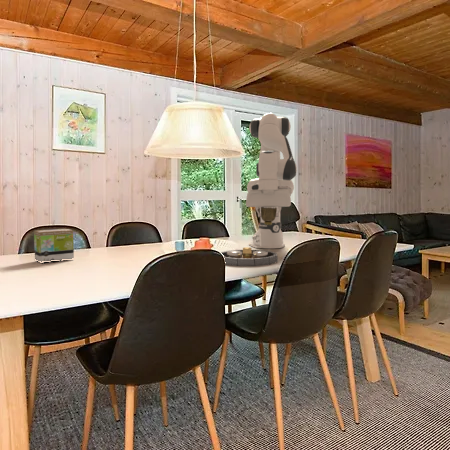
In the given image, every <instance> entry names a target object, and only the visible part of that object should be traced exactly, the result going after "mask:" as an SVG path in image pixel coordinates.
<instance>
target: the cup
mask: <svg viewBox="0 0 450 450" xmlns="http://www.w3.org/2000/svg"><path fill="white" fill-rule="evenodd" d="M276 212H277V208H274V207H273V208H271V207H270V208H269V207H268V208H267V207H266V208H264V207H261V217H260V219H261V218H262V220H263V221H265V222H264V224H265V225H272V221H274V220H275V217H276Z"/></svg>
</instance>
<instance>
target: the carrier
mask: <svg viewBox="0 0 450 450" xmlns="http://www.w3.org/2000/svg"><path fill="white" fill-rule="evenodd" d="M221 253H222V254H223V255H224V258H225V262H226V266H235V267H257V266H258V267H260V266H268V264H269V265H272V263H273V264H275V262H276V263H277V262H278V254H277V252H275V251H271V250H264V249H263V250H262V249H252V247H251V246H250V247H249V246H247V247H242V249H234V250H233V249H232V250H224V251H221Z"/></svg>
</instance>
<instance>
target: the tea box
mask: <svg viewBox="0 0 450 450" xmlns="http://www.w3.org/2000/svg"><path fill="white" fill-rule="evenodd" d="M33 242H34V243H33V245H34V247H33V249H34V260H35V259H36V260H38V261H41V262H42V261H51V260H62V259H72V258H74V257H75V251H74V245H75V244H74V230H72V229H69V228H58V229H41V230H40V229H39V230H34V231H33ZM74 259H75V258H74Z"/></svg>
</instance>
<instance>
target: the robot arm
mask: <svg viewBox="0 0 450 450" xmlns="http://www.w3.org/2000/svg"><path fill="white" fill-rule="evenodd" d="M248 129H249V132H250V136H251V137H252V138H255V139H258V141H259V142H260V150H259V151H260V152H259V155H258V162H257V163H256V164H255V166H256V167H255V168H256V172H255V173H256V177H258V178H253V179H250V180H249V181H248V182H247V186H246V187H247V188H246V189H247V194H246V199H245V205H246V207H247V208H255V212H256V214H257V217H258V218H260V221H259V222H258V229H257V231H256V232H255V233H253V236H252V237H251V238H252V242H250V243H248V246H250V247H251V248H252V247H253V248H256V249H280V248H284V247H285V245H286V244H285V243H284V234H283V231H282V230H281V229H282V221H281V210H282V208H285V207H288V208H289V207H290V206H292V199H291V196H292V194H293V193H294V189H295V185H294V182H293V181H292V180H293V179H294V178H295V177H297V176H296V175H297V171H298V170H297V167H298V166H297V164H296V161H295V159H294V156H293V153H292V150H291V146H290V143H289V139H288V138H287V137H288V135H289V133H290V130H291V122H290V119H289V118H288V117H285V116H277V115H276V114H274V113H272V112H270V113H269V112H268V113H265V114H263V116H261V117H260V118H259V117H258V118H257V117H256V118H253V119H252V120H251V121H250V123H249V128H248ZM281 154H282V156H283V158H281ZM261 207H264V208H266V207H267V208H268V207H269V208H270V207H271V208H273V207H274V208H277V212H276V217H275V220H274V221H272V225H265V224H264V222H265V221H263V220H262V218H261Z"/></svg>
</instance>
